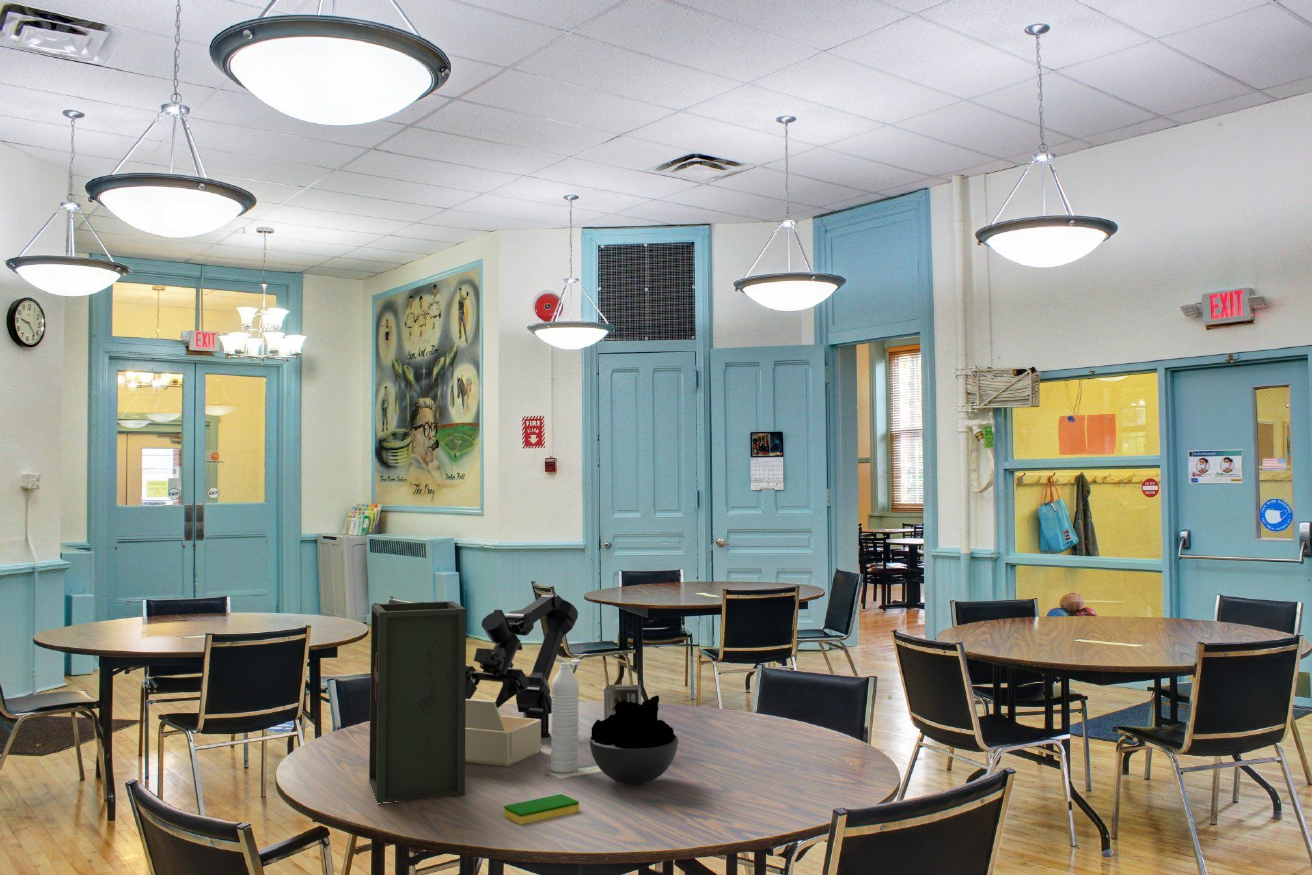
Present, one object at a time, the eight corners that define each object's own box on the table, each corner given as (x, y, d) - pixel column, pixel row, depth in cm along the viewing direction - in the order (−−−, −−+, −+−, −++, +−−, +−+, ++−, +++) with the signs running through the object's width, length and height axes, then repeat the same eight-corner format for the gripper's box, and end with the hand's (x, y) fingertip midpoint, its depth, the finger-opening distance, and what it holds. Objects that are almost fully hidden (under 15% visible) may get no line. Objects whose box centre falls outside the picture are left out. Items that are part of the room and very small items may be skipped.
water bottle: (567, 774, 236) (567, 665, 237) (545, 770, 239) (545, 663, 241) (589, 766, 243) (589, 660, 245) (568, 762, 247) (568, 658, 248)
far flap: (428, 695, 247) (427, 696, 247) (494, 701, 240) (493, 702, 239) (439, 723, 251) (438, 724, 250) (505, 729, 243) (504, 731, 243)
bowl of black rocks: (600, 799, 216) (599, 709, 217) (581, 775, 235) (581, 692, 236) (689, 792, 221) (689, 704, 223) (664, 768, 241) (664, 688, 242)
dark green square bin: (369, 781, 230) (371, 604, 233) (450, 773, 237) (452, 601, 239) (376, 804, 213) (379, 612, 216) (464, 795, 220) (466, 608, 222)
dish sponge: (579, 813, 208) (579, 801, 208) (520, 826, 200) (520, 813, 200) (561, 804, 214) (561, 793, 214) (503, 817, 206) (503, 805, 206)
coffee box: (642, 747, 261) (642, 684, 262) (639, 754, 255) (639, 688, 255) (607, 747, 262) (607, 683, 263) (603, 753, 255) (603, 688, 256)
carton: (473, 743, 266) (473, 712, 267) (543, 750, 258) (543, 719, 258) (436, 758, 251) (436, 725, 251) (509, 766, 243) (509, 732, 243)
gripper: (459, 633, 260) (433, 684, 249) (523, 636, 252) (499, 690, 242) (476, 659, 267) (452, 710, 256) (538, 663, 259) (516, 716, 249)
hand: (479, 706), depth 250 cm, fingers open, 9 cm apart
